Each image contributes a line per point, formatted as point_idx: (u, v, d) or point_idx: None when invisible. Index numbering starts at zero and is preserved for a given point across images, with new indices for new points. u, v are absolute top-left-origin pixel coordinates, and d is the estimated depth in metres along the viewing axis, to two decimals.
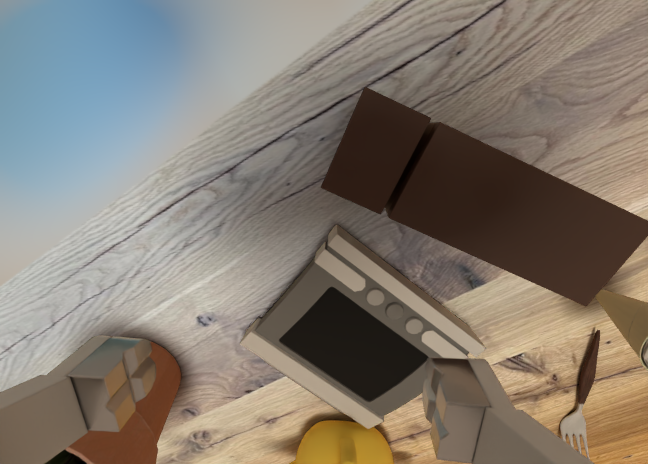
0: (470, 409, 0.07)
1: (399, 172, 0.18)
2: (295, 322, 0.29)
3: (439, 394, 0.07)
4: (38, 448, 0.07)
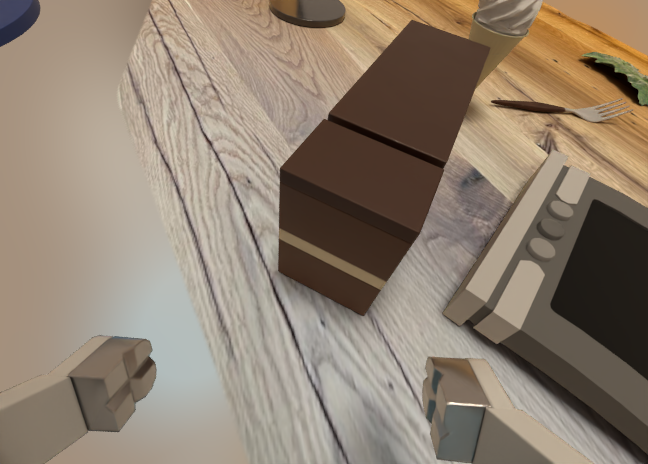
0: (470, 409, 0.07)
1: (386, 147, 0.14)
2: (646, 381, 0.16)
3: (439, 394, 0.07)
4: (38, 448, 0.07)
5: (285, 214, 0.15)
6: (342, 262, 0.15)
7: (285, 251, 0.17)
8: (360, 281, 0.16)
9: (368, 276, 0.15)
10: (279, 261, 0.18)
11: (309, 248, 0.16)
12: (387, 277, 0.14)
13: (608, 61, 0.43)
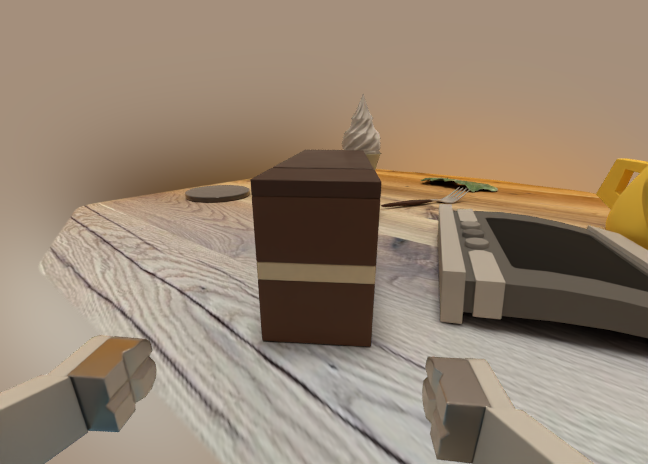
0: (470, 409, 0.07)
1: None
2: (620, 286, 0.18)
3: (439, 394, 0.07)
4: (38, 448, 0.07)
5: (261, 236, 0.15)
6: (328, 268, 0.15)
7: (267, 295, 0.16)
8: (352, 285, 0.16)
9: (357, 271, 0.15)
10: (262, 319, 0.17)
11: (292, 271, 0.16)
12: (374, 258, 0.15)
13: (437, 179, 0.63)
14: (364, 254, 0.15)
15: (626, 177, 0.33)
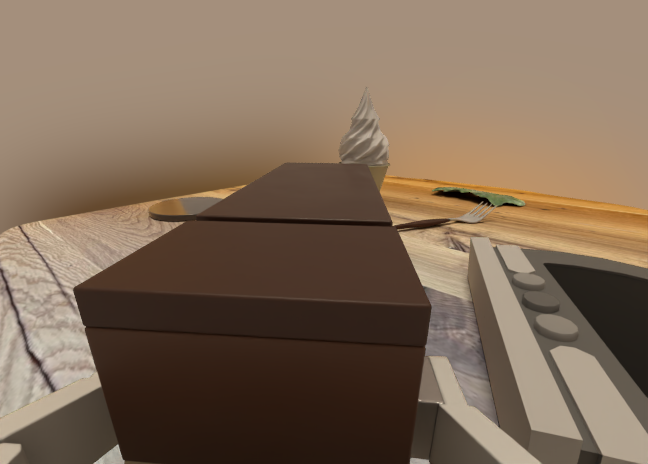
0: (424, 406, 0.07)
1: (298, 224, 0.09)
2: None
3: None
4: (82, 452, 0.07)
5: (124, 413, 0.06)
6: None
7: None
8: None
9: None
10: None
11: None
12: None
13: (452, 189, 0.54)
14: (379, 463, 0.06)
15: None
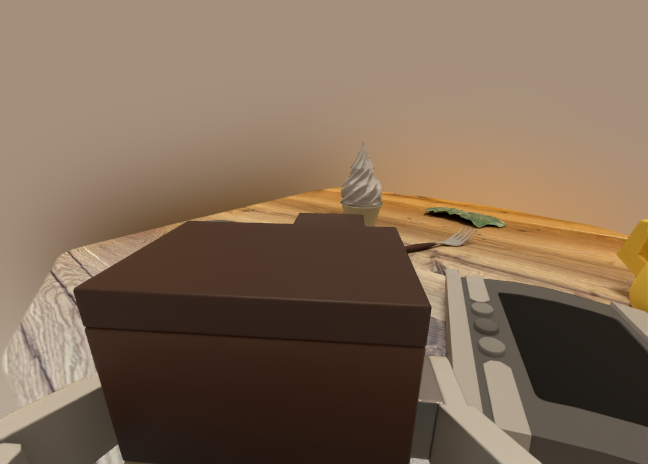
0: (424, 406, 0.07)
1: (298, 225, 0.09)
2: None
3: None
4: (82, 452, 0.07)
5: (124, 414, 0.06)
6: None
7: None
8: None
9: None
10: None
11: None
12: None
13: (441, 210, 0.60)
14: None
15: None
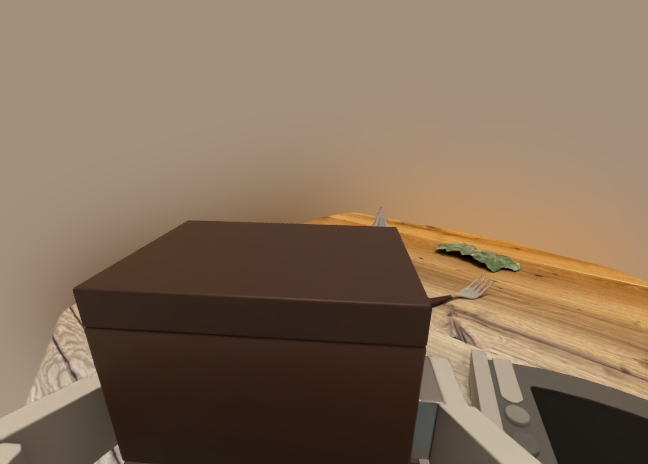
0: (424, 405, 0.07)
1: (298, 224, 0.09)
2: None
3: None
4: (82, 452, 0.07)
5: (124, 414, 0.06)
6: None
7: None
8: None
9: None
10: None
11: None
12: None
13: (453, 248, 0.59)
14: None
15: None
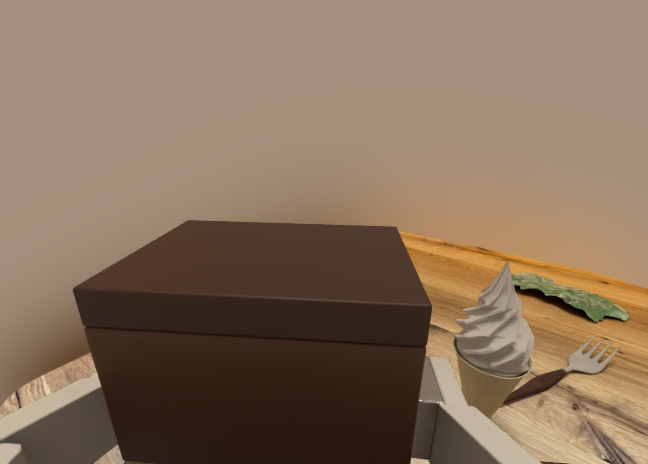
0: (424, 406, 0.07)
1: (298, 224, 0.09)
2: None
3: None
4: (83, 452, 0.07)
5: (124, 414, 0.06)
6: None
7: None
8: None
9: None
10: None
11: None
12: None
13: (529, 284, 0.46)
14: None
15: None
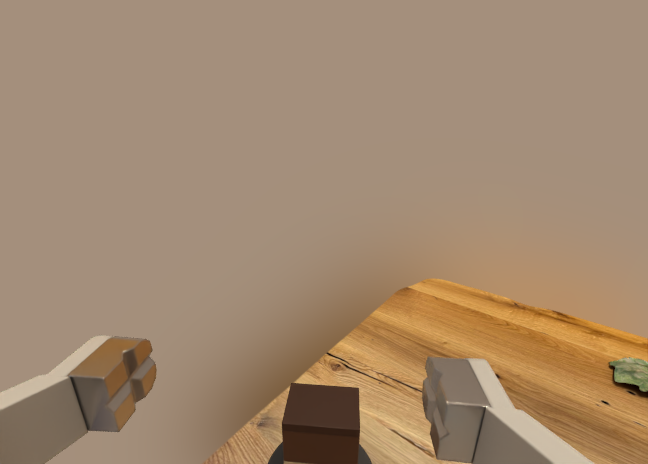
0: (470, 409, 0.07)
1: (327, 386, 0.27)
2: None
3: (439, 394, 0.07)
4: (38, 448, 0.07)
5: (287, 449, 0.25)
6: None
7: None
8: None
9: None
10: None
11: None
12: None
13: None
14: (350, 462, 0.25)
15: None
